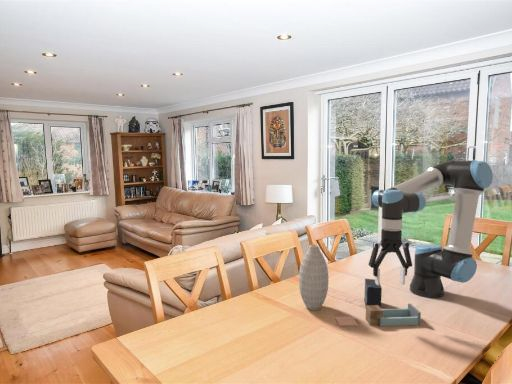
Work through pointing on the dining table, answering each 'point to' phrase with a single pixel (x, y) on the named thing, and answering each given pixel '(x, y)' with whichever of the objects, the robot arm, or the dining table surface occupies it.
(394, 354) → the dining table surface
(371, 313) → the block
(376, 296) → the small box
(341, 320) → the tile
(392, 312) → the channel
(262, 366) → the dining table surface
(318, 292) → the vase
